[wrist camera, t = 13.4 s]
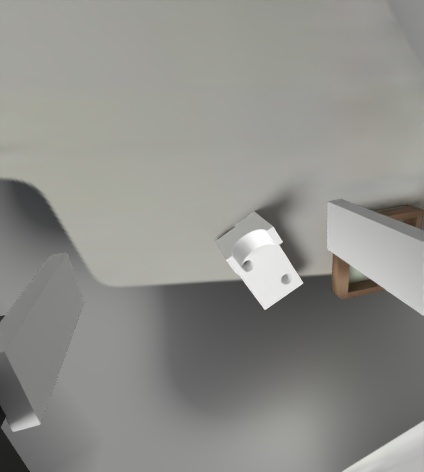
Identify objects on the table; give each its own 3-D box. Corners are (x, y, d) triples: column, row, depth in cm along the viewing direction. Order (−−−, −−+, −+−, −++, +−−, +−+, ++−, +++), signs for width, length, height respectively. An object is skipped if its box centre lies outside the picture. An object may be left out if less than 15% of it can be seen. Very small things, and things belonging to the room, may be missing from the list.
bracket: (213, 239, 44) (226, 259, 37) (253, 210, 44) (273, 226, 37) (257, 297, 49) (275, 325, 42) (292, 272, 49) (317, 296, 42)
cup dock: (334, 217, 47) (346, 223, 44) (408, 205, 49) (423, 209, 46) (331, 290, 51) (341, 299, 48) (398, 275, 53) (412, 284, 50)
